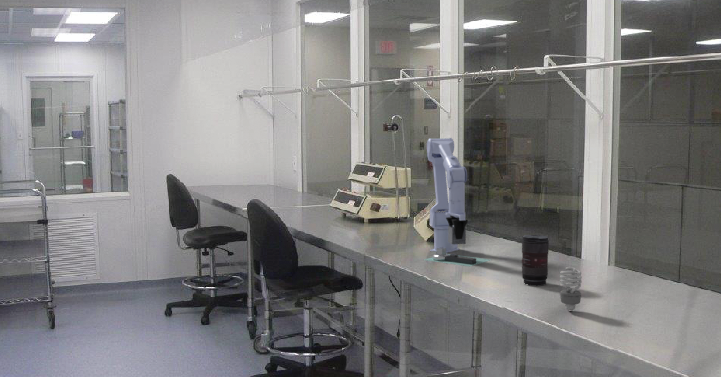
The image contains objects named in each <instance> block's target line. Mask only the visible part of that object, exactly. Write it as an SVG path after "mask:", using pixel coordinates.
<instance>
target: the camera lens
mask: <svg viewBox="0 0 721 377" xmlns="http://www.w3.org/2000/svg"><path fill="white" fill-rule="evenodd" d="M549 245H550V242H549V236H546V235H541V234H525V235H523V236H522V239H521V254H522V258H521V263H522V266H521V278H522V279H523V284H524V283H525V284H524V285H526V284H528V285H527V286H530V285H536V286H535V287H537V286H538V285H541V286H544V285H546V283H547V279H548V274H549V273H548V272H549V262H548V259H549V250H550V249H549ZM538 287H539V286H538Z"/></svg>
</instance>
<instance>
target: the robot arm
mask: <svg viewBox="0 0 721 377" xmlns="http://www.w3.org/2000/svg"><path fill="white" fill-rule="evenodd" d="M454 151H455V141H454V139H453V138H452V137H449V138H447V137H446V138H428V139H427V141H426V155H427V160H428V161H429V162H431V164H432V170H433V180H434V191H435V194H434V195H435V204H434V205H433V206H432V207H431V208H430V209H429V225H430V227H432V229H433V238H434V239H433V240H434V241H433V242H434V243H433V245H434V246H433V248H431V249H429V251H430V252H436V248H440V247H442V248H446V254H449V253H452V252H455V251H458V250H459V251H460V248H458V245H459V244H451V243H449V242H448V226H452V225H454V229H455V236H456V239H462V237H463V233H464V229H465V227H466V226H467V224H468V222H469V220H468V219H466V210H465V209H466V208H465V207H466V204H465V203H466V202H465V201H466V200H465V199H466V198H465V197H466V196H465V195H466V194H465V193H466V191H465V190H466V185H465V184H466V182H467V180H468V171H467V168H466V167H465V166H464V165H463V166H462V165H461V162H460V161H459V159H458V157H457V156H455V155H454V154H453V153H454Z"/></svg>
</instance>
